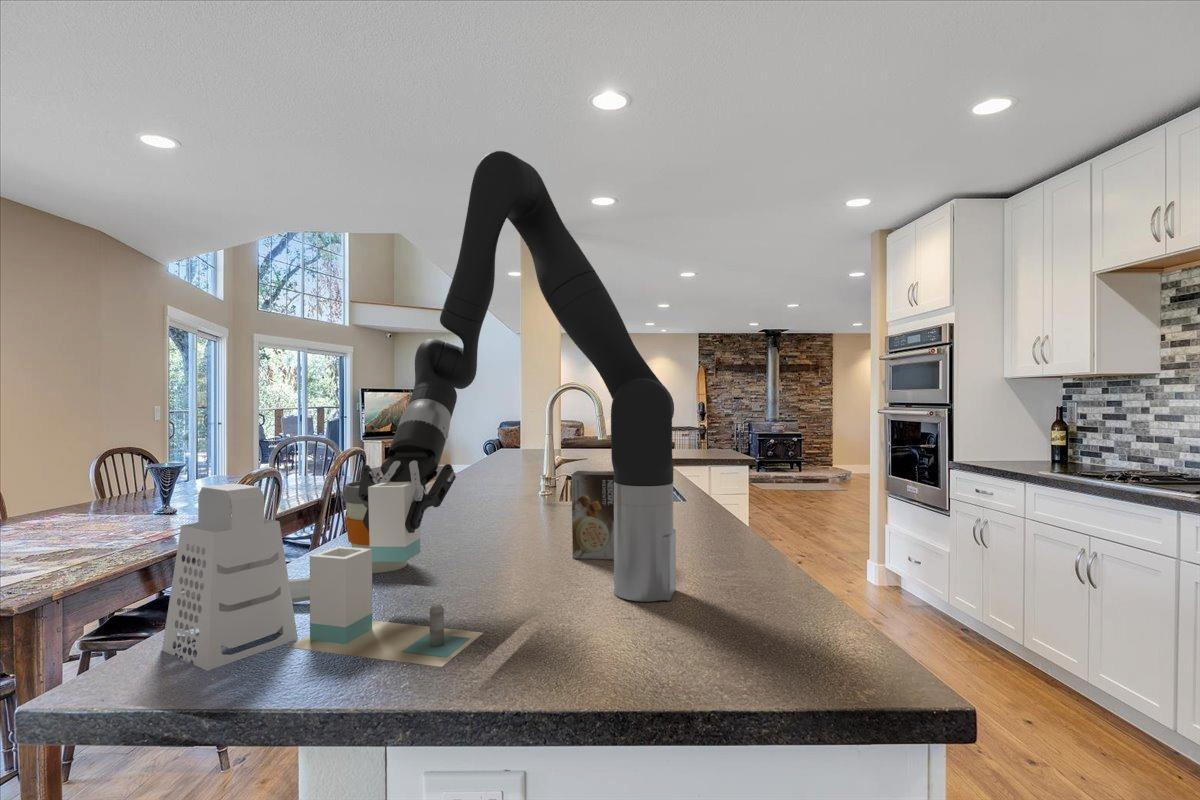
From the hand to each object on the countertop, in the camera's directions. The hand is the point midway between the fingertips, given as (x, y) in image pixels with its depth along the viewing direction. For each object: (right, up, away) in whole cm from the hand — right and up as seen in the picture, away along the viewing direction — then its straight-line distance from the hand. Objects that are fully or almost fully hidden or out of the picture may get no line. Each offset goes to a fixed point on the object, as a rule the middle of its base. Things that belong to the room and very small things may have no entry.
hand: (389, 529), depth 83 cm
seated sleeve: (-3, -11, -8) cm, 14 cm away
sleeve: (0, -4, +2) cm, 5 cm away
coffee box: (+28, -13, +36) cm, 47 cm away
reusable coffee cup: (-11, -13, +29) cm, 33 cm away
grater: (-15, -13, -11) cm, 22 cm away
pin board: (+3, -13, -9) cm, 16 cm away
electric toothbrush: (-18, -13, +3) cm, 22 cm away
